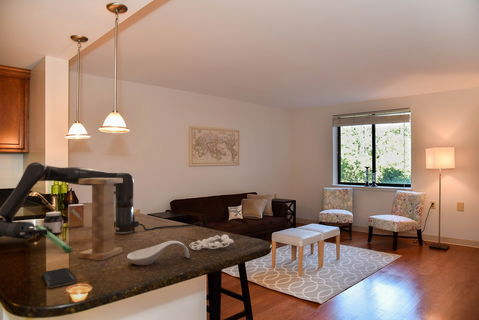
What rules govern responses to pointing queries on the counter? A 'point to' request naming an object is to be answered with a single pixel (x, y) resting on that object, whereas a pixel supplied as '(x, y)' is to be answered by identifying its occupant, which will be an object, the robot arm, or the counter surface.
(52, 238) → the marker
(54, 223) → the spread jar
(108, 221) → the wooden pedestal stand
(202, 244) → the tangled rod sculpture
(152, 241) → the counter surface
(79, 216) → the small box
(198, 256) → the counter surface
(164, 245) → the spoon rest
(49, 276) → the phone
